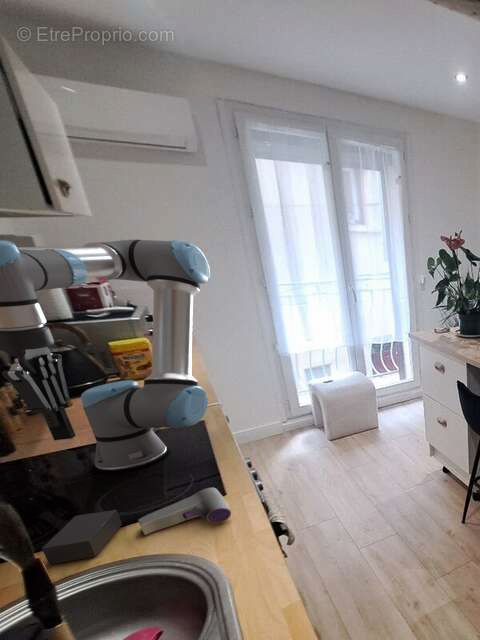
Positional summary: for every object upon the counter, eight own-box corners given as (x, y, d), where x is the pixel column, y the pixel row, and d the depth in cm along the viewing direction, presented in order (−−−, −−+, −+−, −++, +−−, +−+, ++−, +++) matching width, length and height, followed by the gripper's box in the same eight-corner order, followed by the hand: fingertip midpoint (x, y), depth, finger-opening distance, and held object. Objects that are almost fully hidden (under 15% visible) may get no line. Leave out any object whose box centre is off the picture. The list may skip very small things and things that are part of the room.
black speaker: (75, 515, 89) (41, 548, 79) (116, 509, 92) (88, 540, 82) (82, 531, 90) (49, 565, 81) (122, 525, 93) (95, 557, 83)
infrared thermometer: (142, 530, 93) (220, 498, 103) (154, 555, 86) (236, 518, 96) (134, 514, 91) (214, 483, 102) (146, 538, 84) (230, 503, 95)
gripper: (14, 321, 81) (59, 427, 90) (-39, 335, 70) (19, 455, 79) (64, 320, 84) (104, 423, 93) (21, 333, 73) (71, 449, 82)
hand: (65, 437), depth 86 cm, fingers closed
